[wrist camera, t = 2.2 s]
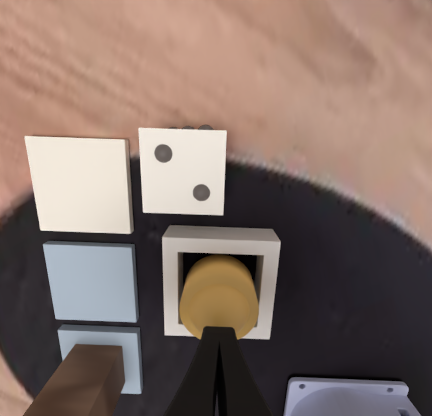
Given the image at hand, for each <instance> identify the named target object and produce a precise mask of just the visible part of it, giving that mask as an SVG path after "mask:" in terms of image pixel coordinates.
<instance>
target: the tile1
mask: <svg viewBox="0 0 432 416" xmlns="http://www.w3.org/2000/svg"><path fill="white" fill-rule="evenodd" d="M43 248H44V253H45V259H46V265H47V271H48V277H49V283H50V288H51V294H52V300H53V306H54V312H55V318H56V319H66V320H91V321H116V322H137V320H138V318H139V308H138V292H137V276H136V259H135V244H119V243H93V242H67V241H48V242H46V243H44V244H43Z"/></svg>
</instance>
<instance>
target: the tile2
mask: <svg viewBox="0 0 432 416" xmlns="http://www.w3.org/2000/svg"><path fill="white" fill-rule="evenodd" d="M25 142H26V148H27V154H28V160H29V166H30V171H31V177H32V183H33V189H34V195H35V201H36V207H37V212H38V218H39V224H40V230H43V231H69V232H96V233H122V234H131V233H132V232H133V231H134V226H133V210H132V193H131V177H130V160H129V144H128V140H121V139H93V138H65V137H37V136H25Z"/></svg>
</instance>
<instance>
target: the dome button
mask: <svg viewBox="0 0 432 416" xmlns="http://www.w3.org/2000/svg"><path fill="white" fill-rule="evenodd" d="M179 312H180V317H181V320H182V323H183V324H184V326H185V327H186V329H187V330H188V331H189V332H190V333H191V334H192V335H194V336H195V337H197V338H198V339H201V336H202V332H203V328H204V327H205V326H217V327H233V328H234V329H235V333H236V337H237V340H238V339H240V338H242V337H244V336H245V335H246V334H248V333H249V332H250V331H251V330H252V328H253V327H254V326H255V324H256V322H257V319H258V315H259V305H258V300H257V296H256V292H255V288H254V284H253V280H252V277H251V274H250V272H249V270H248V268H247V267H246V266H245V265H244V264H243V263H242V262H241V261H239V260H238V259H236V258H234V257H231V256H228V255H221V254H216V255H210V256H207V257H204V258H202V259H200V260H199V261H197V262H196V263H195V264H194V265H193V266H192V267H191V269H190V270H189V272H188V274H187V278H186V282H185V285H184V289H183V293H182V297H181V301H180V307H179Z"/></svg>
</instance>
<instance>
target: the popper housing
mask: <svg viewBox="0 0 432 416" xmlns="http://www.w3.org/2000/svg"><path fill="white" fill-rule="evenodd" d="M280 244H281V241H280V240H279V238H278V237H277V235H276V234H275V232H274V231H273V229H260V228H233V227H206V226H180V225H170V226H169V227H168V229H167V230H166V232H165V234H164V235H163V237H162V252H163V288H164V324H165V335H174V336H194V335H192V334H191V333H190V332H189V331H188V330H187V329H186V327H185V326H184V324H183V323H182V320H181V317H180V312H179V307H180V301H181V297H182V293H183V252H193V253H219V254H245V255H257V260H256V272H255V283H254V288H255V292H256V296H257V300H258V305H259V315H258V319H257V322H256V324H255V326H254V327H253V328H252V330H251V331H250V332H249V333H248V334H246V335H245V336H244V337H242V338H248V339H270V332H271V323H272V314H273V306H274V297H275V288H276V279H277V271H278V262H279V253H280Z"/></svg>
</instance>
